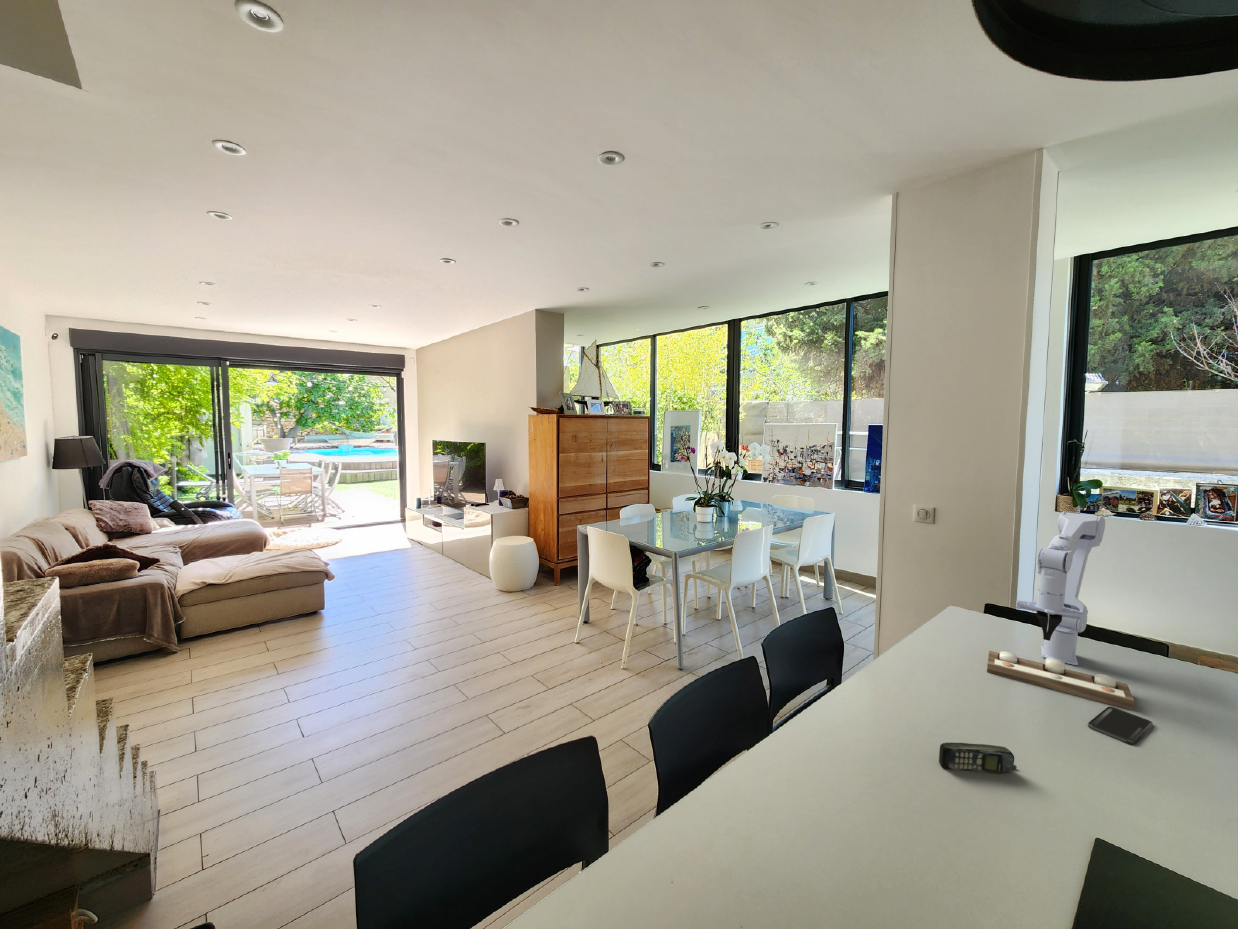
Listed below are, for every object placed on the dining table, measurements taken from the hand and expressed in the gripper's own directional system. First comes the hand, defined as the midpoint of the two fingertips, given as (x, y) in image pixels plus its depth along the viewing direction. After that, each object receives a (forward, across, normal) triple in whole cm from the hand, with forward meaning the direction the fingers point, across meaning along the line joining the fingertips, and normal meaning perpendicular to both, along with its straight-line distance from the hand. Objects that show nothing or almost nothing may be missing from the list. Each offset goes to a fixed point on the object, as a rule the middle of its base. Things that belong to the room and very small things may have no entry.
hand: (1046, 639), depth 141 cm
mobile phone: (+10, -12, -60) cm, 62 cm away
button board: (+9, +2, -6) cm, 11 cm away
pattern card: (+7, +2, -9) cm, 11 cm away
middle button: (+7, +2, -4) cm, 8 cm away
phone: (+10, +13, -22) cm, 27 cm away
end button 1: (+8, +12, -4) cm, 15 cm away
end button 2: (+8, -8, -4) cm, 12 cm away
